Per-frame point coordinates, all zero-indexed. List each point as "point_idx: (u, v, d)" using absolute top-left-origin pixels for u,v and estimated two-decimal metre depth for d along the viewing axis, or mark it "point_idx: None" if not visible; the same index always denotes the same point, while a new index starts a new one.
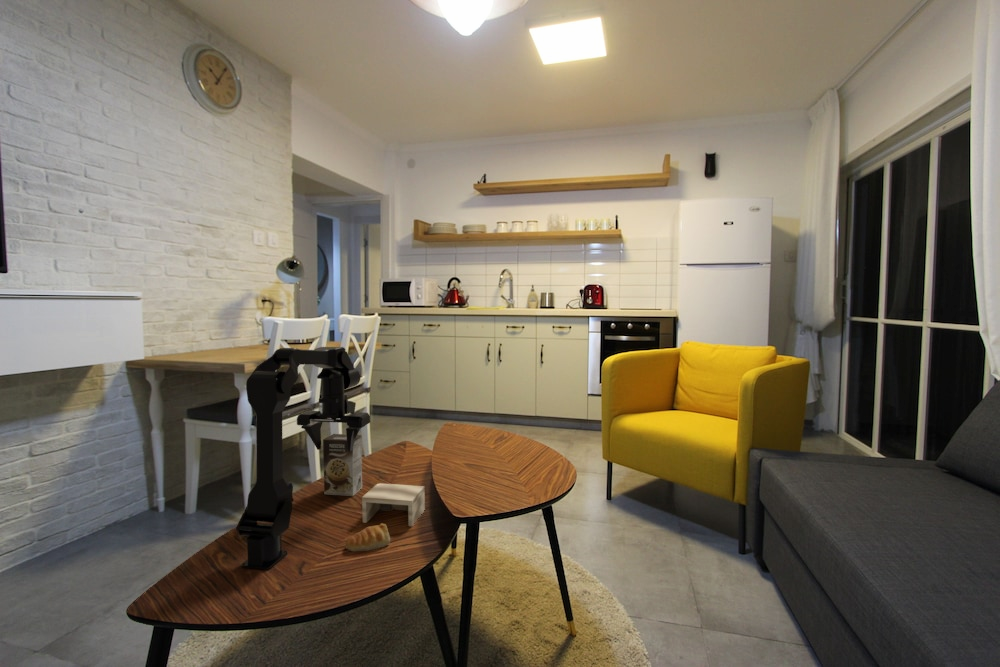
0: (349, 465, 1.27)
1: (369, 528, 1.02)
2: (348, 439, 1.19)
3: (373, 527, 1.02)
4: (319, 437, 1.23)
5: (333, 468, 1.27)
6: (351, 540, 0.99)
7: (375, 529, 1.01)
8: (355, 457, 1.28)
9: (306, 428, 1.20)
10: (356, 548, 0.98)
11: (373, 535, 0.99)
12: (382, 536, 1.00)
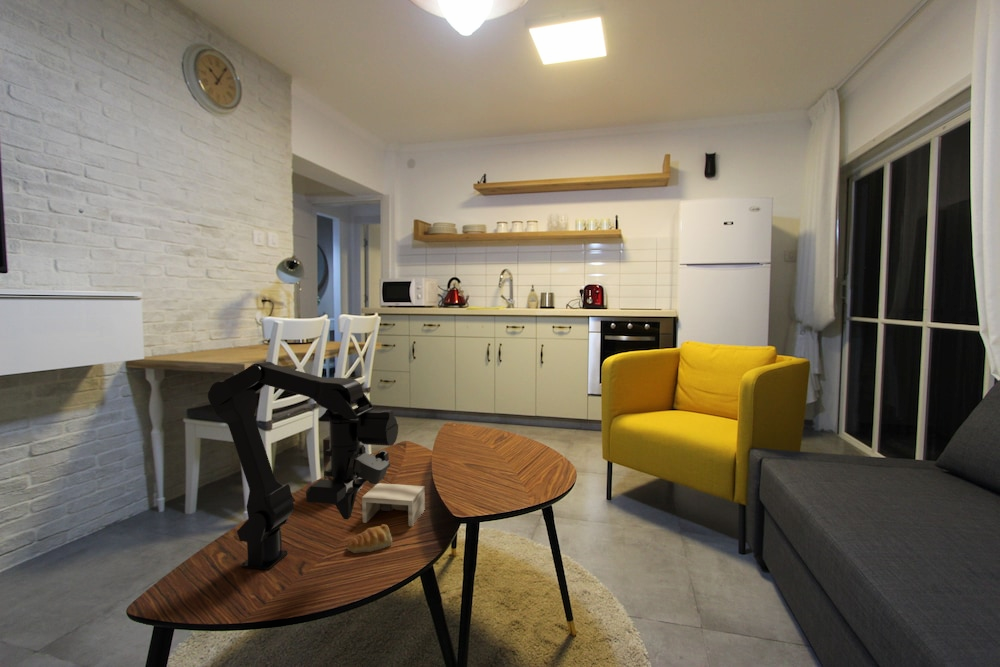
0: None
1: (371, 529, 1.01)
2: None
3: (375, 528, 1.02)
4: None
5: None
6: (353, 541, 0.98)
7: (377, 530, 1.01)
8: None
9: None
10: (358, 550, 0.97)
11: (375, 536, 0.99)
12: (384, 537, 0.99)
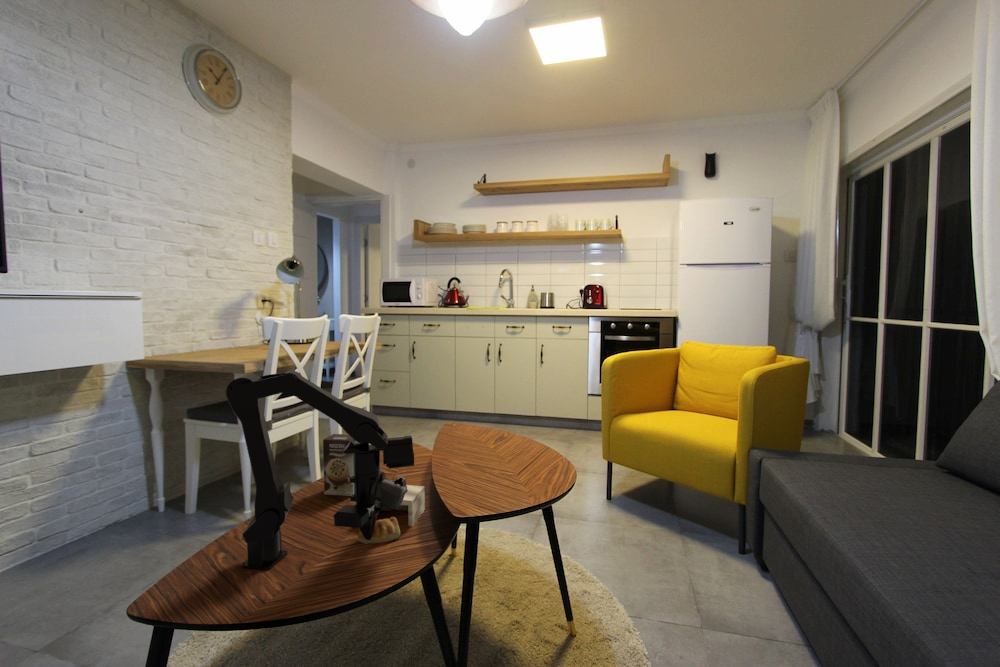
0: (349, 465, 1.27)
1: (380, 521, 1.05)
2: None
3: (384, 520, 1.05)
4: None
5: (333, 468, 1.27)
6: None
7: (386, 522, 1.04)
8: None
9: None
10: (367, 540, 1.01)
11: (384, 527, 1.02)
12: (392, 529, 1.03)
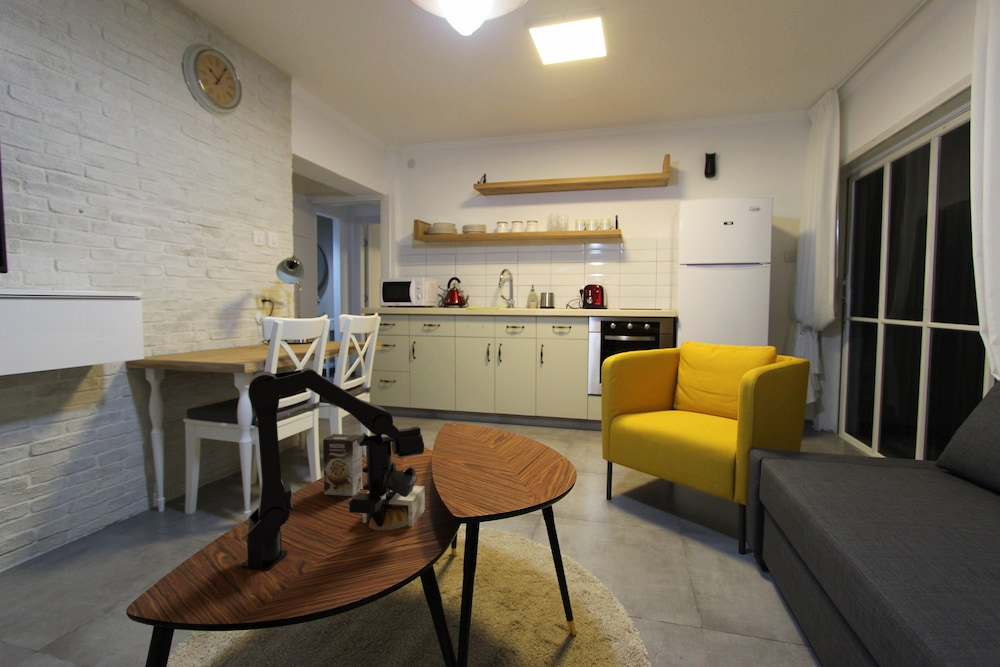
0: (349, 465, 1.27)
1: (390, 510, 1.11)
2: None
3: (394, 509, 1.11)
4: None
5: (333, 468, 1.27)
6: None
7: (396, 510, 1.10)
8: (355, 457, 1.28)
9: None
10: (378, 527, 1.07)
11: (394, 515, 1.08)
12: (402, 517, 1.09)
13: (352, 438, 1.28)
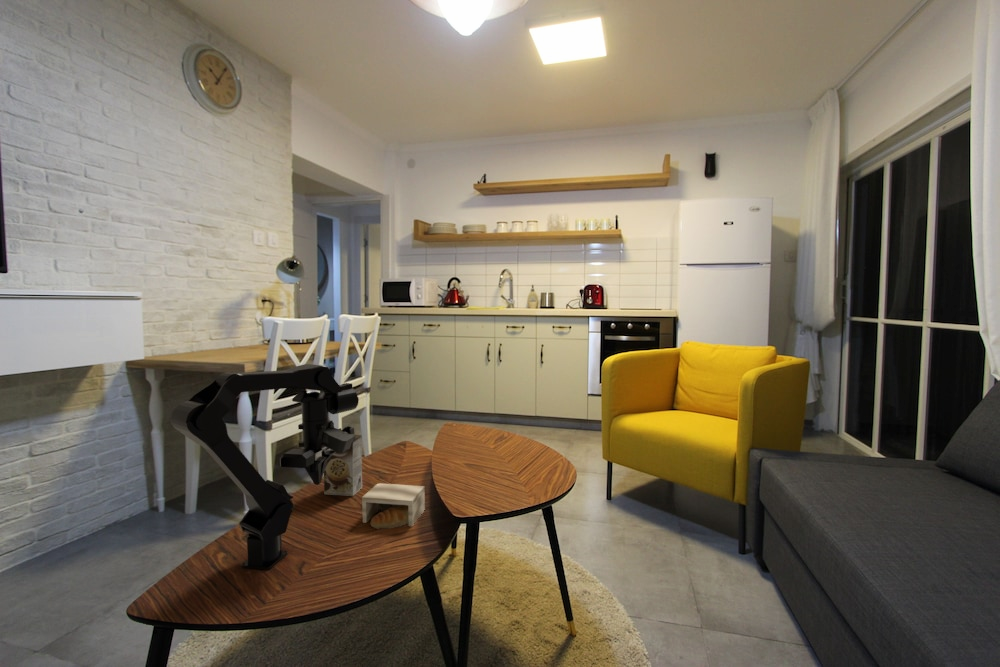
0: (349, 465, 1.27)
1: (391, 508, 1.12)
2: None
3: (395, 507, 1.12)
4: None
5: (333, 468, 1.27)
6: (375, 518, 1.09)
7: (397, 509, 1.11)
8: (355, 457, 1.28)
9: None
10: (380, 526, 1.08)
11: (395, 514, 1.09)
12: (403, 515, 1.10)
13: None
